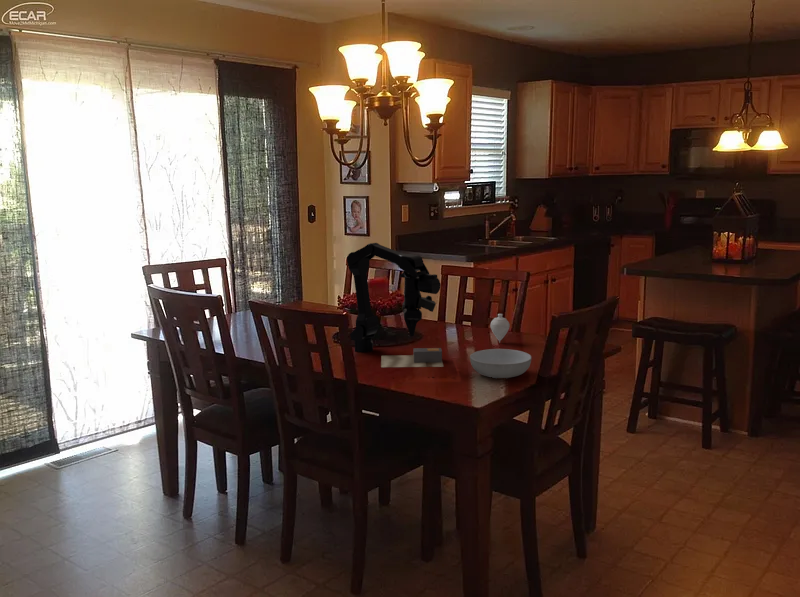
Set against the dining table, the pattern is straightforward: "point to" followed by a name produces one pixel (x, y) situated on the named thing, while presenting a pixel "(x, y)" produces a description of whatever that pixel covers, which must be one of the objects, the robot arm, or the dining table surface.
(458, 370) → the dining table surface
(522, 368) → the serving bowl
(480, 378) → the dining table surface
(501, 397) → the dining table surface
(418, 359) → the block
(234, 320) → the dining table surface
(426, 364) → the board
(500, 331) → the spinning top
